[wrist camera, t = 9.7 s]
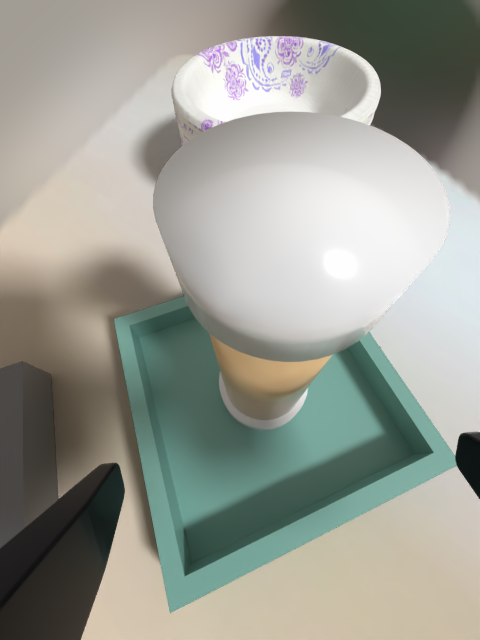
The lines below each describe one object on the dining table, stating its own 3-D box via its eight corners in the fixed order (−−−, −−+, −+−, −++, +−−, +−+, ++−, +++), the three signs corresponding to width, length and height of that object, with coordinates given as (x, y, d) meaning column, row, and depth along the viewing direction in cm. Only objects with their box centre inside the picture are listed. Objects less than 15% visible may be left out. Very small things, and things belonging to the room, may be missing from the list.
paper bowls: (218, 253, 22) (205, 154, 15) (173, 152, 29) (149, 51, 22) (379, 206, 24) (433, 100, 17) (302, 122, 31) (318, 22, 24)
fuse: (298, 439, 14) (484, 331, 3) (214, 422, 15) (104, 278, 4) (304, 358, 17) (426, 119, 5) (230, 347, 17) (195, 105, 6)
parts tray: (427, 464, 14) (460, 463, 12) (183, 587, 12) (170, 613, 10) (307, 275, 21) (314, 252, 18) (129, 336, 18) (113, 319, 16)
